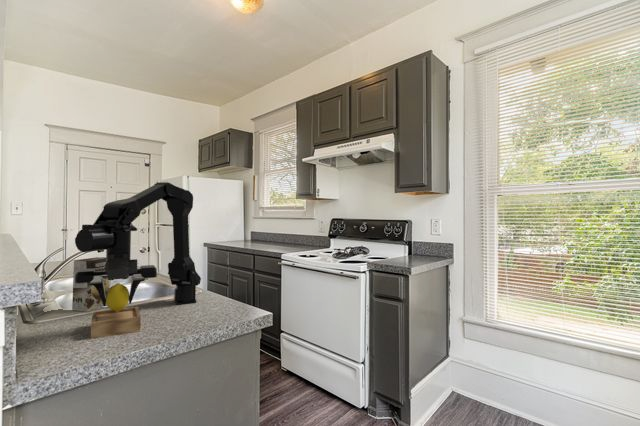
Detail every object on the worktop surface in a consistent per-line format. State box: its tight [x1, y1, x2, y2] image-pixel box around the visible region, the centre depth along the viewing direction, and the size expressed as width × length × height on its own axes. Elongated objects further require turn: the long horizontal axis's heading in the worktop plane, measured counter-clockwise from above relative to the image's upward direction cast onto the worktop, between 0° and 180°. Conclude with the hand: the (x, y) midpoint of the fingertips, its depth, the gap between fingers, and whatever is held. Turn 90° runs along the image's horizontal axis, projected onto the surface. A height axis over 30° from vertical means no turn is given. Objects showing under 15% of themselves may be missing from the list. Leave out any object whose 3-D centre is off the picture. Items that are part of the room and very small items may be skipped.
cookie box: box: [71, 256, 112, 313], centre depth 110 cm, size 9×6×16 cm
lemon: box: [106, 282, 130, 312], centre depth 92 cm, size 6×6×8 cm
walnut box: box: [90, 306, 142, 340], centre depth 91 cm, size 11×11×4 cm
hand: (117, 304), depth 92 cm, fingers closed on lemon, 5 cm apart
